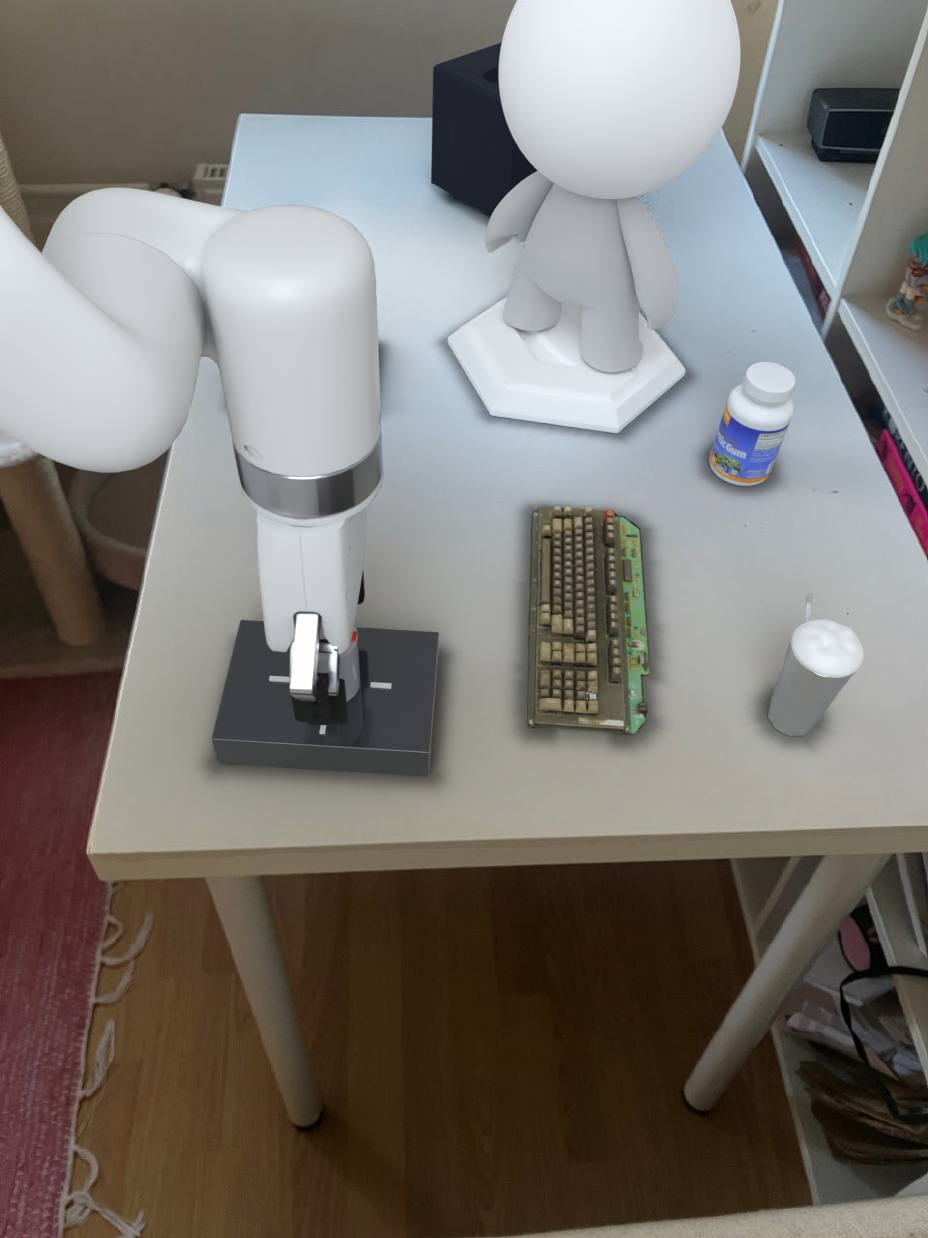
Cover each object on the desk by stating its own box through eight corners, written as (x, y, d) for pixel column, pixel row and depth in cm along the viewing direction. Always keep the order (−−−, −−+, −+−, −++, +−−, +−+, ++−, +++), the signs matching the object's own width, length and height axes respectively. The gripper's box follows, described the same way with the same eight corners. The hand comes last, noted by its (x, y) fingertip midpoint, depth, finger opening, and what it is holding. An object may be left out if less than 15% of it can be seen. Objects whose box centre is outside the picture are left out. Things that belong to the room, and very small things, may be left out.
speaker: (557, 141, 126) (572, 9, 114) (635, 181, 120) (659, 46, 108) (428, 195, 116) (431, 56, 104) (507, 241, 110) (518, 99, 98)
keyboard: (531, 510, 83) (534, 492, 82) (639, 518, 83) (644, 501, 82) (524, 729, 69) (526, 712, 68) (654, 739, 69) (659, 723, 68)
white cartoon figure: (715, 349, 99) (831, -63, 72) (580, 466, 87) (659, 24, 60) (551, 272, 106) (601, -127, 79) (408, 369, 94) (409, -61, 68)
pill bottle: (696, 455, 88) (722, 363, 81) (746, 440, 90) (777, 349, 83) (731, 495, 85) (762, 403, 78) (782, 478, 87) (818, 387, 80)
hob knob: (296, 705, 66) (289, 656, 62) (305, 657, 69) (298, 606, 65) (356, 709, 66) (353, 660, 62) (363, 660, 69) (360, 610, 65)
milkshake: (793, 675, 73) (839, 585, 66) (835, 734, 70) (888, 646, 62) (739, 692, 72) (780, 602, 64) (780, 752, 69) (827, 665, 61)
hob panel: (217, 764, 66) (210, 737, 64) (245, 645, 73) (240, 617, 70) (428, 777, 67) (429, 751, 64) (438, 657, 73) (439, 630, 70)
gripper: (266, 351, 58) (294, 556, 71) (202, 575, 46) (250, 768, 60) (396, 359, 58) (401, 562, 71) (364, 584, 46) (376, 775, 60)
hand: (332, 656), depth 65 cm, fingers open, 9 cm apart
